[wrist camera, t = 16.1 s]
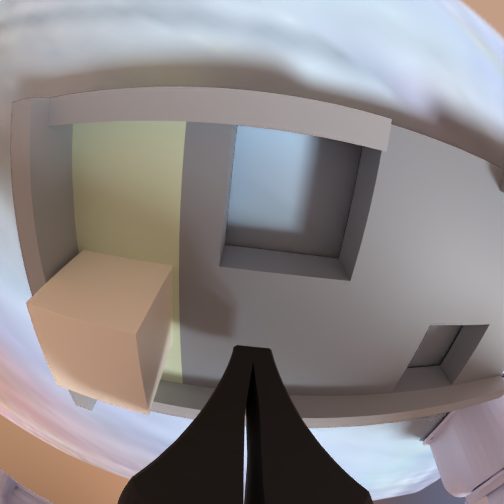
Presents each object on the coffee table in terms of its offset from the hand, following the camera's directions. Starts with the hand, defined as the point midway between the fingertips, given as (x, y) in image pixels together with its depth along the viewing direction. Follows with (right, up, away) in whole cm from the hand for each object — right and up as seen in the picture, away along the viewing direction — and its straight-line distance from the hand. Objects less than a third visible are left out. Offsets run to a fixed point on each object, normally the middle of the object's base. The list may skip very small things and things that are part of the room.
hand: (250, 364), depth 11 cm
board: (+6, +3, +2) cm, 7 cm away
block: (-5, +2, +1) cm, 6 cm away
